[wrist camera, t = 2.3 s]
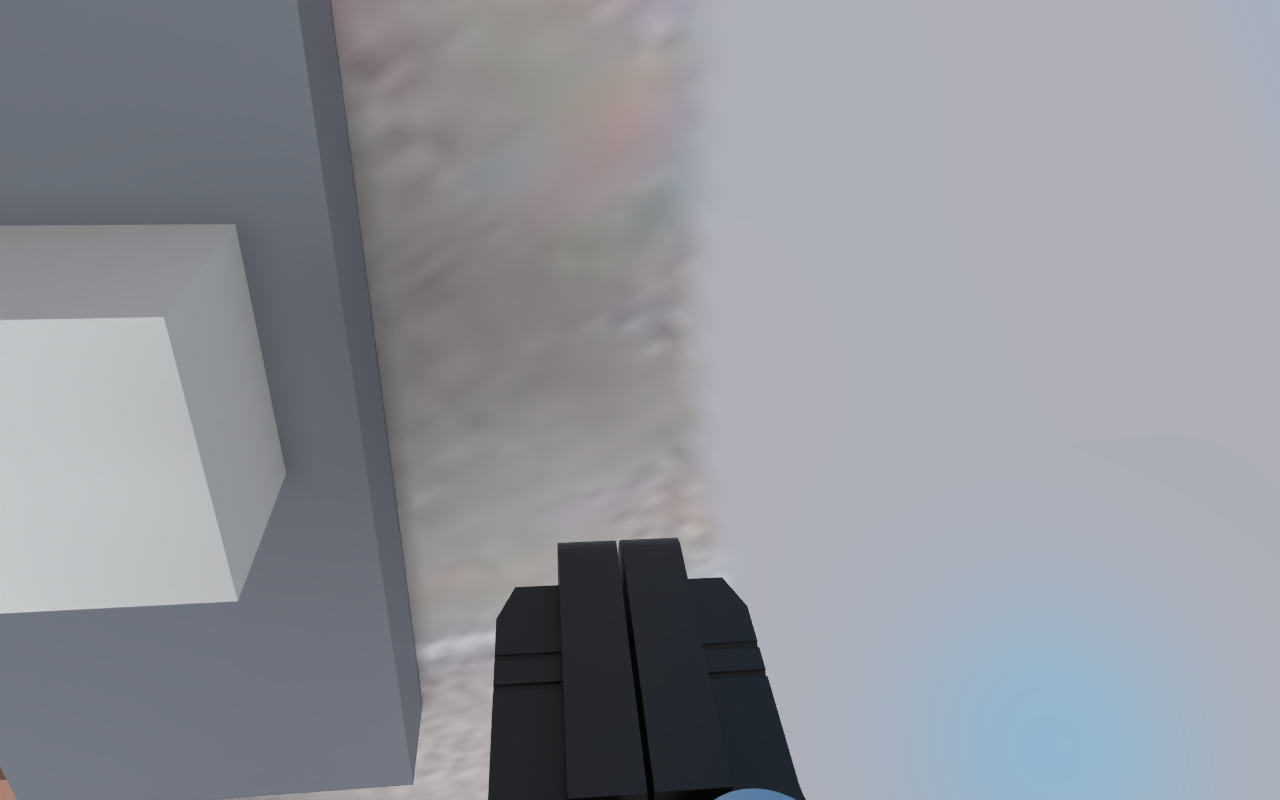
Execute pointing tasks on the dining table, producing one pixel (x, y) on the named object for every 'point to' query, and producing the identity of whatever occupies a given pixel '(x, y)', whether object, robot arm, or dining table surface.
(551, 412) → the dining table surface
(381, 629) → the board
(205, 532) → the block
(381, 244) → the dining table surface
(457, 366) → the dining table surface
